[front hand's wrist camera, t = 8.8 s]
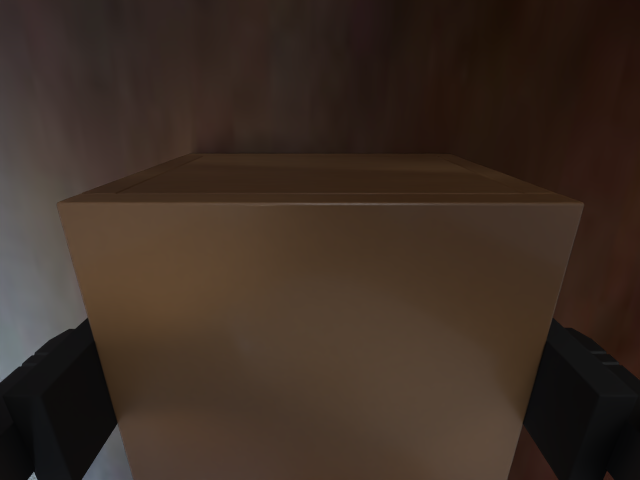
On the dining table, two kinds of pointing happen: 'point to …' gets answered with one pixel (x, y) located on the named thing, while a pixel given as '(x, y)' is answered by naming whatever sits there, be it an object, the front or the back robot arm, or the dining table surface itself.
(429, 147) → the dining table surface
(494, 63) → the dining table surface
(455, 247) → the cabinet
